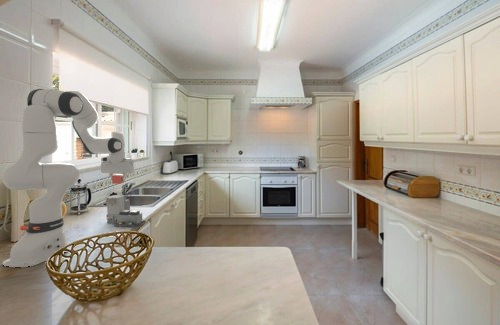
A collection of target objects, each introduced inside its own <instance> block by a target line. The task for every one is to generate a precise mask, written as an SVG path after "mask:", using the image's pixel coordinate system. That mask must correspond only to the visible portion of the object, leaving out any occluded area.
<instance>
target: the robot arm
mask: <svg viewBox="0 0 500 325" xmlns="http://www.w3.org/2000/svg"><path fill="white" fill-rule="evenodd" d="M26 102H27V103H26V104H27V106H26V107H25V108H24V110H23V113H22V114H23V115H22V123H21V124H22V144H23V146H22V152H21V153H20V154H21V155H20V156H19V157H18V159H17V160H16V161H15V162H14V163H13V164H11V165H10V166H8V167H7V168H5V170H4V171H3V173H2V178H1V180H2V183H3V185H4V186H5V187H6V188H7V189H8V190H13V191H29V190H30V191H32V190H46V192H45V193H44V194H42V195H41V196H39V197H37V198H35V199H33V200H32V201H31V202H30V203H29V205H28V214H29V221H28V224H27V225H20V227H19V230H20V231H25V233H24V234H23V235H22V237H20V238H19V240H18V241H17V242H16V243H14V245H12V247H11V249H10V251H9V252H10V253H9V254H10V255H9V257H8V258H7V259H6V260H4V261H2V264H3V265H4V266H3V265H2V266H3V267H6V266H9V267H8V268H15V267H21V268H28V266H30V267H33V266H36V265H39V264H43V262H46V261H48V260H47V259H48V258H49V257H50V256H51V255H52V254H53V253H54V252H55V251H57V250H59V249H60V248H62V247H64V246H65V245H68V242H67V240H66V235H65V231H64V223H65V221H64V217H63V211H62V210H63V209H62V207H63V199H64V196H65V194H66V193H67V191H68V190H69V189H70V188H71V187H73V186H74V185H76V183H77V182H78V181H79V179H80V178H79V177H80V171H79V169H78V167H77V166H76V165H75V164H72V163H67V162H66V163H65V162H54V163H53V162H52V163H50V162H49V163H47V162H45V163H42V162H40V161H41V160H42V159H43V158H46V157H48V156H50V155H53V154H54V153H56V151H57V150H58V132H57V131H58V130H57V125H56V119H57V116H59V117H60V116H62V117H63V116H64V117H65V116H66V117H71V118H72V122H71V124H72V127H73V129H74V132H75V133H76V135H77V137H78V138H79V140H80V142H81V143H82V146H83V148H84V151H86V153H87V154H89V155H98V154H99V155H102V154H103V155H106V154H107V156H104V157H101V159H100V160H101V163H100V172H101V174H108V177H110V180H111V181H112V175H114V174H122V175H124V176H123V178H121V181H124V182H125V181H126V177H127V176H128V175H129V174H134V173H135V166H134V159H132V158H127V157H126V152H125V147H126V146H125V137H124V134H123V132H120V131H110V132H109V133H108V135H107V136H105V137H104V136H103V137H99V136H93V135H92V134H91V133H90V131H89V129H90V128H92V127H94V125H96V124H97V122H98V120H99V114H98V111H97V110H96V108H95V106H94V105H93V104H92V103H91V101H89V99H88V98H87V97H86V96H85V95H84V94H83V93H81V92H80V91H79V90H78V91H77V90H70V91H69V90H67V91H65V90H58V89H53V88H52V89H51V88H47V89H46V88H45V89H44V88H37V89H33V90H31V91H30V92H29V93H28V96H27V99H26Z"/></svg>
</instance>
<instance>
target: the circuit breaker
mask: <svg viewBox="0 0 500 325" xmlns="http://www.w3.org/2000/svg"><path fill="white" fill-rule="evenodd" d="M126 198H127V197H126V195H124V194H113V195H111V196H107V197H105V205H106V209H107V210H106V212H107V214H106V223H115V224H117V223H118V221H117V215H118V214H120V212H121V211H123V210H130V211H131V202H130V199H126Z"/></svg>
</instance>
